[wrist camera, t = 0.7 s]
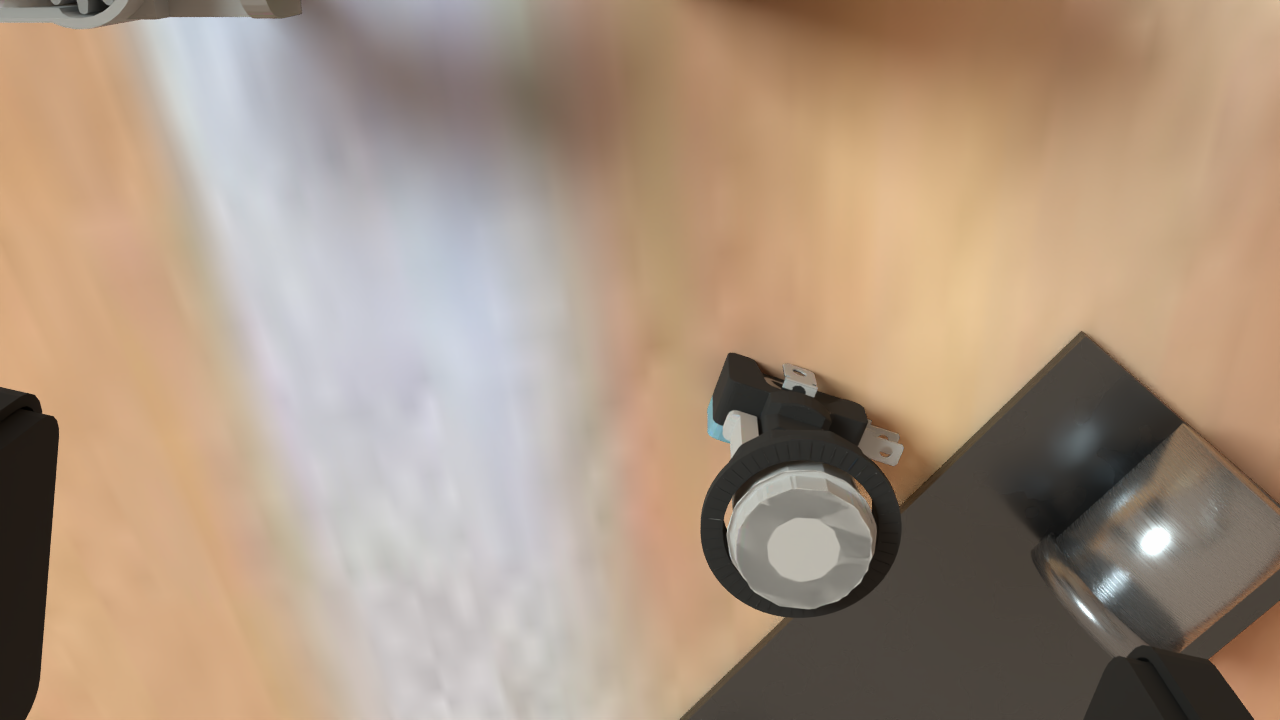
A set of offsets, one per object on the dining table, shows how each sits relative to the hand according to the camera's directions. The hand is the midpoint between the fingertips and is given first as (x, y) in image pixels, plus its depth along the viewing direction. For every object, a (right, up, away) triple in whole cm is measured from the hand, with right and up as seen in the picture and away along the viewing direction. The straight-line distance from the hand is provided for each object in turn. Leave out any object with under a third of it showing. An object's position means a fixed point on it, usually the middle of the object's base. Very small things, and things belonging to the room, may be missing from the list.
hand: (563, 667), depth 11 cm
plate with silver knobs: (+11, -10, +34) cm, 37 cm away
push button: (+6, +1, +30) cm, 31 cm away
